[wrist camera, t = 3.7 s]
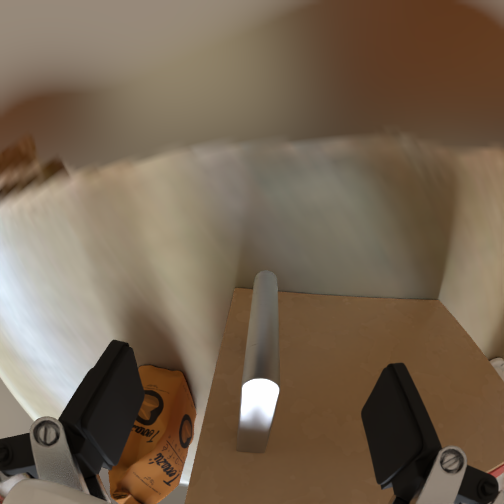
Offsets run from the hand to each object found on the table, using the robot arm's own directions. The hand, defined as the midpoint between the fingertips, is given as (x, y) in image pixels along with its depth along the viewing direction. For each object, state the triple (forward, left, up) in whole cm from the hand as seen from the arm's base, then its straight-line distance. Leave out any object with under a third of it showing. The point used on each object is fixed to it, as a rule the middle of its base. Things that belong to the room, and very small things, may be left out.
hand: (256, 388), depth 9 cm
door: (-10, +4, -20) cm, 23 cm away
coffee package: (+13, +27, -21) cm, 36 cm away
